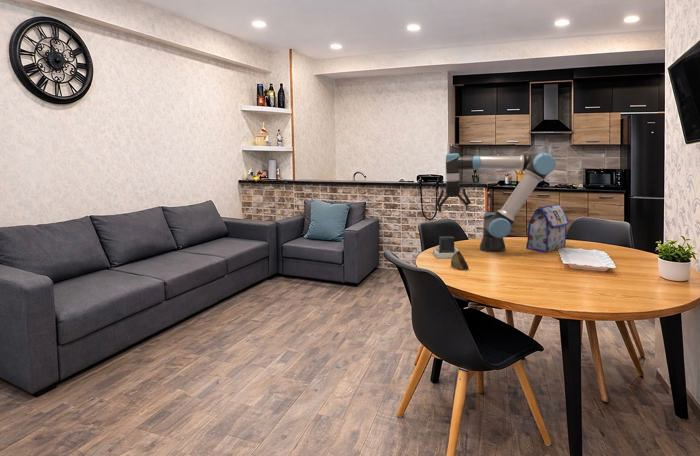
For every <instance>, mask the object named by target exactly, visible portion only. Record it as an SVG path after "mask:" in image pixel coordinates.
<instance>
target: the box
mask: <svg viewBox="0 0 700 456" xmlns="http://www.w3.org/2000/svg"><path fill="white" fill-rule="evenodd" d="M438 248H439V253H454V248H455V237H454V236H452V235H448V236H447V235H445V236H444V235H442V236H439V239H438Z"/></svg>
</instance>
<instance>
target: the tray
mask: <svg viewBox="0 0 700 456" xmlns="http://www.w3.org/2000/svg"><path fill="white" fill-rule="evenodd" d="M458 251H460V250H459V248H457V247H454V253H439V247H438V248H437V247H435V248H434V247H433V248H432V254H433V256H434V257H435V258H436V259H438V260H440V259H446V260H447V259H452V257H453V255H454V254H455V253H456V252H458ZM461 254H462V252H461ZM462 255H463V254H462Z"/></svg>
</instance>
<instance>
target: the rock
mask: <svg viewBox="0 0 700 456" xmlns="http://www.w3.org/2000/svg"><path fill="white" fill-rule="evenodd" d="M461 253H462V252H461V251H460V250H459V251H458V252H456V253H455V254H454V255H453V257H452V259H451V260H450V265H451V266H452V267H454V268H456V269H459V270H463V271H469V270H470V269H469V265H468V263H467V261H466V259H465V257H464V255H463V254H461Z"/></svg>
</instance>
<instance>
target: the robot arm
mask: <svg viewBox="0 0 700 456" xmlns="http://www.w3.org/2000/svg"><path fill="white" fill-rule="evenodd" d="M555 168H556V159H555V158H554V156H553V155H551V154H550V153H547V152H536V153H528V154H521V155H518V156H517V155H464V156H460V154H459V153H458V152H457V153H446V155H445V189H440V194H438V195H439V196H438V197H437V200H436V202H435V204H434V205H435V206H437V208H438V212H439V213H440V219H443V218H444V208H443V206H444V204H445V202H446V201H447V199H448V198H453V197H454V198H456V197H457V198H459V200H460V202H462V203H463V206H462V207H463V208H462V210H463V217H464V218H466V217H467V211H468V209H469V208H468V206H469V205H471V204H472V201H471V200H470V197H468V195H467V192H466V188H464V187H463V188H460V171H463V170H465V171H466V170H479V169H480V170H481V169H483V170H488V169H490V170H519V171H520V172H524V173H525V174H524V175H523V176H522V178H521V179H520V181H519V182H518V184H517V185H516V187H515V188H514V190H513V192H512V193H511V194H510V196H509V197H508V199H507V200H506V202H505V203H504V204H503V206H502V207H501V209H498V210H496V211H495V212H484V213H483V231H482V235H483V236H482V239H481V241H480V244H479V250H480V251H484V252H489V253H490V252H491V253H500V252H505V251H506V243H505V241H504V238H505V237H507V236H509V234H510V233H511V230H512V226H513V224H514V223H515V222H516V221H515V216H517V214H518V213H519V211H521V208H522V207H523V205H524V204H525V203H526V201H527V200H528V198H529V197H530V195H531V194H532V193H533V191H534V190H535V188H536V187H537V185H538V184H539V182H543V181H544V180H545V179H546V178H547V176H548V175H550V174H551V173H552V172H553V171H554V170H555ZM460 193H462V195H463V197H464V198H463V197H462V196H461V194H460ZM444 194H445V196H444ZM443 196H444V197H443Z"/></svg>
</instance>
